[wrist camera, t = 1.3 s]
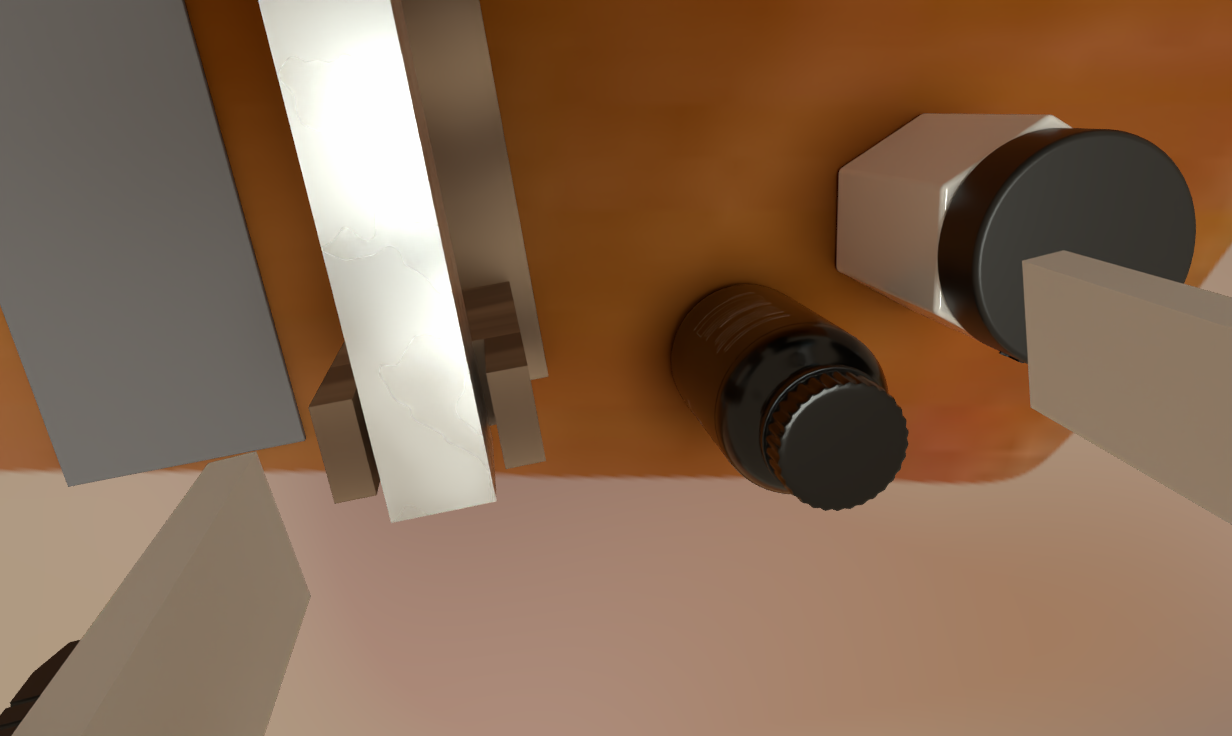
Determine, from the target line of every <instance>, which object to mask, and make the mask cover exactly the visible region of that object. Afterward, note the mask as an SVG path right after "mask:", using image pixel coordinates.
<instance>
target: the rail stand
mask: <svg viewBox="0 0 1232 736" xmlns="http://www.w3.org/2000/svg"><path fill="white" fill-rule="evenodd" d="M401 3H402V8H403V13H404V18H405V23H406V27H407V32H408V37H409V42H410V47H411V51H412V56H413V61H414V66H415V70H416V75H417V80H418V85H419V90H420V94H421V99H422V104H423V109H424V113H425V118H426V123H427V128H428V133H429V137H430V142H431V147H432V152H433V156H434V161H435V166H436V171H437V176H438V180H439V185H440V190H441V195H442V200H443V204H444V209H445V214H446V219H447V223H448V228H449V233H450V238H451V243H452V247H453V252H454V257H455V262H456V266H457V271H458V276H459V281H460V286H461V290H462V295H463V300H464V305H465V310H466V314H467V319H468V324H469V329H470V333H471V338H472V343H473V348H474V353H475V357H476V362H477V367H478V372H479V376H480V381H481V386H482V391H483V396H484V400H485V405H486V410H487V415H488V419H489V424H490V425H495V424H497V429H498V433H499V438H500V443H501V448H502V453H503V458H504V462H505V467H506V469H508V468H513V467H518V466H523V465H528V464H533V463H538V462H543V461H546V459H545V454H544V448H543V443H542V438H541V433H540V427H539V422H538V417H537V412H536V406H535V401H534V396H533V391H532V385H531V380H533V379H538V378H543V377H548V372H547V366H546V361H545V355H544V350H543V344H542V339H541V334H540V328H539V323H538V317H537V312H536V306H535V301H534V296H533V290H532V285H531V279H530V274H529V268H528V263H527V258H526V252H525V247H524V241H523V236H522V230H521V225H520V220H519V214H518V209H517V203H516V198H515V192H514V187H513V182H512V176H511V171H510V165H509V160H508V154H507V149H506V144H505V138H504V133H503V127H502V122H501V116H500V111H499V105H498V100H497V95H496V89H495V84H494V78H493V73H492V67H491V62H490V57H489V51H488V46H487V40H486V35H485V29H484V24H483V19H482V13H481V8H480V2H479V0H401ZM308 408H309V411H310V415H311V419H312V422H313V426H314V430H315V433H316V437H317V441H318V444H319V448H320V451H321V455H322V459H323V462H324V466H325V470H326V473H327V477H328V481H329V484H330V488H331V491H332V495H333V498H334V502H335V504H336V503H341V502H345V501H350V500H355V499H360V498H365V497H370V496H375V495H377V491H378V487H379V483H380V477H379V473H378V469H377V465H376V461H375V457H374V453H373V449H372V445H371V442H370V438H369V434H368V430H367V426H366V422H365V418H364V414H363V410H362V406H361V402H360V398H359V394H358V390H357V387H356V383H355V379H354V375H353V371H352V367H351V363H350V359H349V355H348V351H347V347H346V343H345V341H344V343H343V345H342V347H341V348H340V350H339V352H338V354H337V356H336V358H335V359H334V361H333V363H332V365H331V367H330V369H329V370H328V372H327V374H326V376H325V378H324V380H323V382H322V383H321V385H320V387H319V389H318V391H317V393H316V394H315V396H314V398H313V400H312V402H311V404H310V405H309V407H308Z"/></svg>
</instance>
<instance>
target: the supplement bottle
mask: <svg viewBox="0 0 1232 736" xmlns="http://www.w3.org/2000/svg"><path fill="white" fill-rule="evenodd" d="M671 367H672V374H673V378H674V381H675V384H676V387H677V389H678V391H679V393H680V395H681V397H682V398H683V400H684V401H685V403H686V404H687V406H688V407H689V408H690V410H691V411H692V412H693V414H694V415H695V416H696V418H697V419H698V420H699V422H700V423H701V424H702V426H703V427H704V428H705V430H706V431H707V432H708V434H709V435H710V436H711V438H712V439H713V440H714V442H715V443H716V444H717V446H718V447H719V448H720V450H721V451H722V452H723V454H724V455H725V456H726V458H727V459H728V460H729V462H730V463H731V464H732V465H733V466H734V467H735V469H736V470H737V471H738V472H739V473H740V474H741V475H743V476H744V477H745V478H746V479H748V480H749V481H751V482H752V483H754V484H756V485H758V486H759V487H762V488H764V489H766V490H770V491H773V492H777V493H783V494H792V495H794V496H796V497H797V498H798V499H799V500H800V501H801V502H803V503H807V504H809V505H810V506H811V507H813V508H821V509H823V510H825V511H826V510H830V509H833V510H836V511H839V510H841V509H844V508H846V509H851V508H853V507H854V506H856V505H862V504H864V503H865V502H866V501H867V500H869V499H873V498H875V497H876V496H877V494H878V493H880V492H882V491H883V490H885V489H886V487H887V485H888V484H889V483H890V482H892V481H893V480H894V478H895V475H896V473H897V472H898V471H899V470H900V469H901V464H902V461H903V460H904V459H905V457H906V453H905V451H906V449H907V446H908V441H907V436H908V430H907V428H906V419H905V418H904V416H903V415H902V409H901V407H900V406H898V405H897V404H896V402H895V399H894V398H893V397H892V396H891V395H889V394H888V387H887V383H886V379H885V376H884V373H883V370H882V368H881V366H880V364H879V362H878V361H877V359H876V358H875V356H874V355H873V353H872V352H871V351H870V350H869V349H868V348H867V347H866V346H865V345H864V344H863V343H862V342H861V341H859V340H858V339H857V338H856V337H854V336H852V335H851V334H849V333H848V332H846V331H845V330H843V329H841V328H840V327H838V326H836V325H835V324H833V323H831V322H830V321H828V320H826V319H825V318H823V317H821V316H820V315H818V314H816V313H815V312H813V311H811V310H810V309H808V308H806V307H805V306H803V305H801V304H800V303H798V302H796V301H795V300H793V299H791V298H790V297H788V296H786V295H784V294H782V293H780V292H778V291H776V290H774V289H771V288H768V287H765V286H760V285H753V284H743V285H735V286H730V287H727V288H724V289H721V290H718V291H716V292H714V293H712V294H710V295H709V296H707V297H705V298H704V299H703V300H701V301H700V302H699V303H698V304H697V305H696V306H694V307H693V309H692V310H691V311H690V312H689V313H688V314H687V316H686V317H685V318H684V320H683V322H682V323H681V325H680V327H679V329H678V331H677V333H676V336H675V339H674V343H673V347H672V355H671Z"/></svg>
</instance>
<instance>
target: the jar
mask: <svg viewBox="0 0 1232 736" xmlns="http://www.w3.org/2000/svg"><path fill="white" fill-rule="evenodd" d="M1195 236H1196V220H1195V211H1194V206H1193V201H1192V197H1191V194H1190V191H1189V188H1188V186H1187V184H1186V181H1185V179H1184V177H1183V175H1182V174H1181V172H1180V170H1179V169H1178V167H1177V166H1176V165H1175V163H1174V162H1173V161H1172V159H1171V158H1170V157H1169V156H1168V155H1167V154H1166V153H1165V152H1164V151H1162V150H1161V149H1160V148H1159V147H1157V146H1156V145H1154V144H1153V143H1151V142H1150V141H1148V140H1146V139H1144V138H1142V137H1139V136H1137V135H1134V134H1131V133H1128V132H1124V131H1119V130H1110V129H1081V128H1072V127H1070V126H1069V125H1067V124H1066V123H1064V122H1063V121H1061V120H1059V119H1058V118H1056V117H1055V116H1053V115H1039V114H943V113H924V114H921V115H920V116H918V117H917V118H915V119H914V120H912V121H911V122H909V123H908V124H906V125H905V126H903V127H902V128H900V129H899V130H897V131H896V132H894V133H893V134H891V135H890V136H888V137H887V138H885V139H884V140H882V141H881V142H879V143H878V144H876V145H875V146H873V147H872V148H870V149H869V150H867V151H866V152H864V153H863V154H861V155H860V156H858V157H857V158H855V159H854V160H852V161H851V162H849V163H848V164H846V165H845V166H843V167H842V168H841V169H840V170H839V176H838V216H837V256H836V268H837V270H838V271H839V272H841V273H842V274H844V275H846V276H848V277H850V278H852V279H854V280H856V281H858V282H859V283H861V284H863V285H865V286H867V287H869V288H871V289H873V290H875V291H876V292H878V293H880V294H882V295H884V296H886V297H888V298H890V299H892V300H893V301H895V302H897V303H899V304H901V305H903V306H905V307H907V308H909V309H910V310H912V311H915V312H917V313H919V314H921V315H923V316H926V317H928V318H930V319H932V320H934V321H936V322H939V323H941V324H943V325H945V326H947V327H950V328H952V329H954V330H956V331H958V332H960V333H963V334H965V335H967V336H969V337H971V338H974V339H976V340H978V341H980V342H982V343H984V344H986V345H988V346H990V347H992V348H994V349H996V350H998V351H1000V352H999V353H1000V354H1002V355H1004V356H1007V357H1009V358H1012V359H1014V360H1016V361H1018V362H1021V363H1027V364H1028V352H1027V336H1026V319H1025V302H1024V285H1023V268H1022V261H1023V260H1027V259H1031V258H1035V257H1039V256H1043V255H1047V254H1051V253H1055V252H1059V251H1063V250H1065V251H1068V252H1072V253H1075V254H1079V255H1083V256H1086V257H1090V258H1093V259H1097V260H1100V261H1104V262H1107V263H1111V264H1115V265H1118V266H1122V267H1125V268H1129V269H1132V270H1136V271H1139V272H1143V273H1147V274H1150V275H1154V276H1157V277H1161V278H1164V279H1168V280H1171V281H1175V282H1179V283H1182V284H1184V282H1185V280H1186V277H1187V274H1188V271H1189V268H1190V265H1191V261H1192V257H1193V252H1194V246H1195Z"/></svg>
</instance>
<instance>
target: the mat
mask: <svg viewBox="0 0 1232 736" xmlns="http://www.w3.org/2000/svg"><path fill="white" fill-rule="evenodd" d="M0 305H1V308H2V311H3V313H4V316H5V319H6V321H7V324H8V327H9V329H10V332H11V335H12V337H13V340H14V343H15V345H16V348H17V351H18V353H19V356H20V359H21V362H22V364H23V367H24V370H25V372H26V375H27V378H28V380H29V383H30V386H31V388H32V391H33V394H34V396H35V399H36V402H37V404H38V407H39V410H40V412H41V415H42V418H43V420H44V423H45V426H46V429H47V431H48V434H49V437H50V439H51V442H52V445H53V447H54V450H55V453H56V455H57V458H58V461H59V463H60V466H61V469H62V471H63V474H64V477H65V479H66V482H67V485H68V487H70V486H75V485H80V484H85V483H90V482H95V481H100V480H105V479H110V478H115V477H121V476H126V475H131V474H136V473H141V472H147V471H152V470H157V469H162V468H167V467H172V466H177V465H183V464H188V463H193V462H198V461H203V460H208V459H213V458H219V457H224V456H229V455H234V454H239V453H244V452H249V451H254V450H260V449H265V448H270V447H275V446H280V445H285V444H290V443H296V442H301V441H305V439H306V436H305V433H304V429H303V425H302V422H301V418H300V415H299V411H298V408H297V404H296V400H295V397H294V393H293V390H292V386H291V382H290V379H289V375H288V372H287V368H286V364H285V361H284V357H283V354H282V350H281V346H280V343H279V339H278V336H277V332H276V328H275V325H274V321H273V318H272V314H271V310H270V307H269V303H268V300H267V296H266V293H265V289H264V285H263V282H262V278H261V275H260V271H259V267H258V264H257V260H256V257H255V253H254V249H253V246H252V242H251V239H250V235H249V231H248V228H247V224H246V221H245V217H244V213H243V210H242V206H241V203H240V199H239V195H238V192H237V188H236V185H235V181H234V178H233V174H232V170H231V167H230V163H229V160H228V156H227V152H226V149H225V145H224V142H223V138H222V134H221V131H220V127H219V124H218V120H217V116H216V113H215V109H214V106H213V102H212V98H211V95H210V91H209V88H208V84H207V80H206V77H205V73H204V70H203V66H202V63H201V59H200V55H199V52H198V48H197V45H196V41H195V37H194V34H193V30H192V27H191V23H190V19H189V16H188V12H187V9H186V5H185V1H184V0H0Z"/></svg>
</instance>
